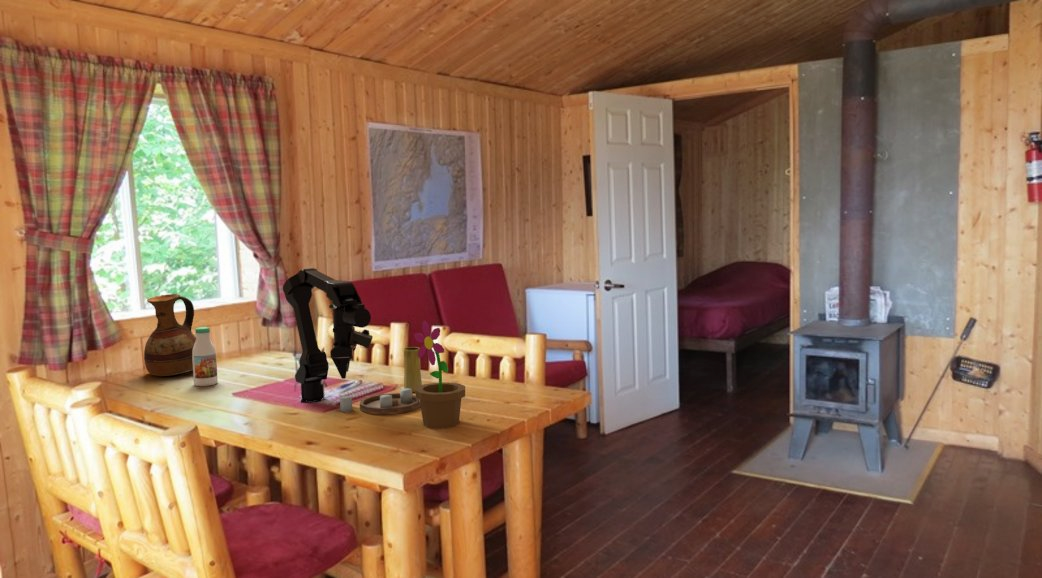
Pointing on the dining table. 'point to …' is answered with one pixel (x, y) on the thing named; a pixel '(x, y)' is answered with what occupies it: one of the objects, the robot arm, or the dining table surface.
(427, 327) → the flowerpot
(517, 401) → the dining table surface
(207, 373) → the milk bottle
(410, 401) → the bead seated
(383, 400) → the bead
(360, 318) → the robot arm
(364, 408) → the tray
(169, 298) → the ceramic pitcher
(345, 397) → the bead
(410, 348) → the vase
